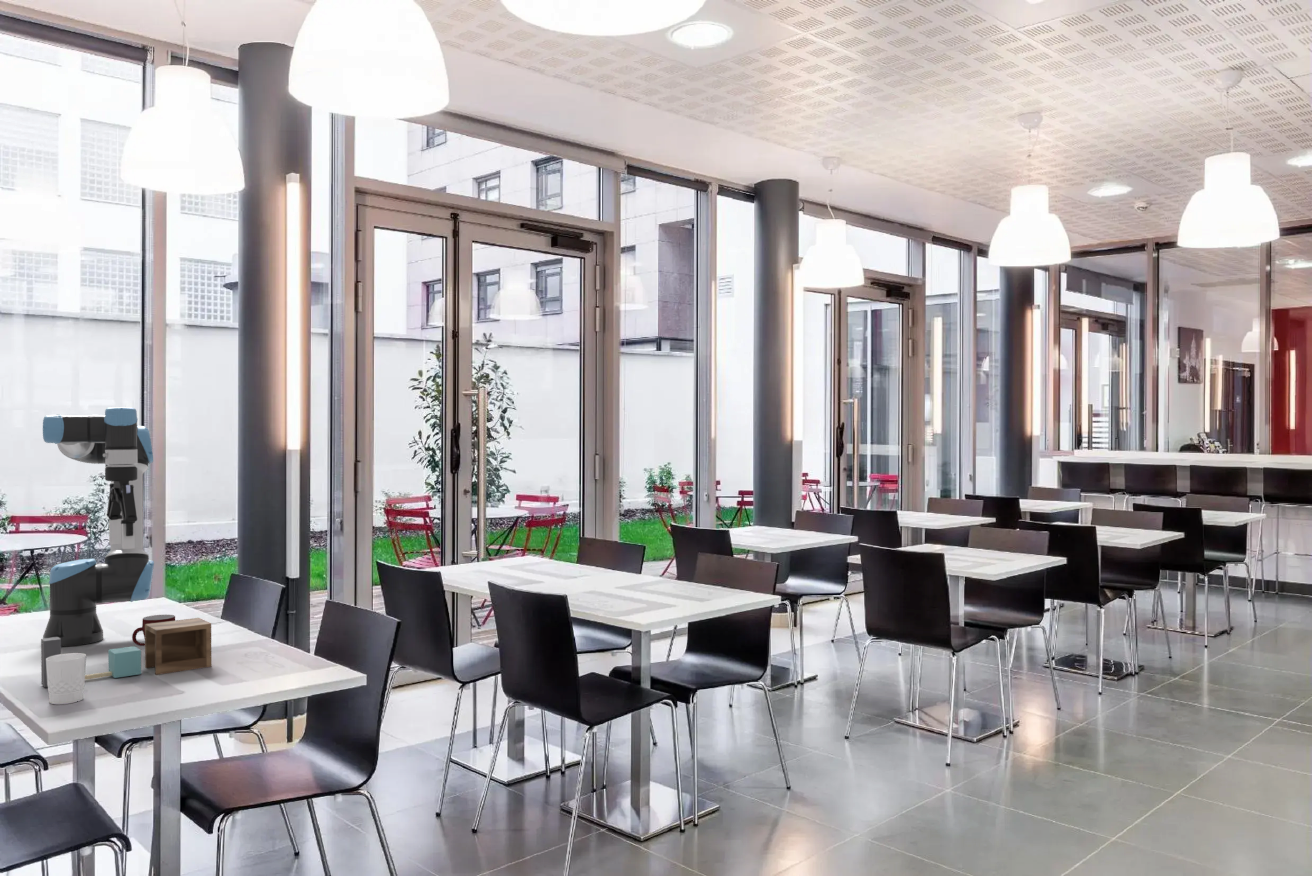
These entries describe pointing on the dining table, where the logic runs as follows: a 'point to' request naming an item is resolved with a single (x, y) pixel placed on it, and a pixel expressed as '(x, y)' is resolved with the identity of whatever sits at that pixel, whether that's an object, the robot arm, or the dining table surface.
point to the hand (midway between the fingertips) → (121, 546)
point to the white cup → (66, 677)
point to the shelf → (178, 645)
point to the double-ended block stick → (118, 660)
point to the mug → (147, 621)
